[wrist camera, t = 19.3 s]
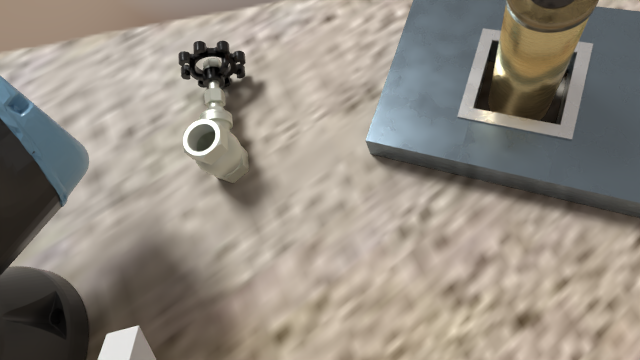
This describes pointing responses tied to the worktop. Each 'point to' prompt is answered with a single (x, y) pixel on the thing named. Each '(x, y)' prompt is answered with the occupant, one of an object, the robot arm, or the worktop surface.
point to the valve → (214, 113)
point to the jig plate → (510, 131)
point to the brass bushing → (535, 53)
